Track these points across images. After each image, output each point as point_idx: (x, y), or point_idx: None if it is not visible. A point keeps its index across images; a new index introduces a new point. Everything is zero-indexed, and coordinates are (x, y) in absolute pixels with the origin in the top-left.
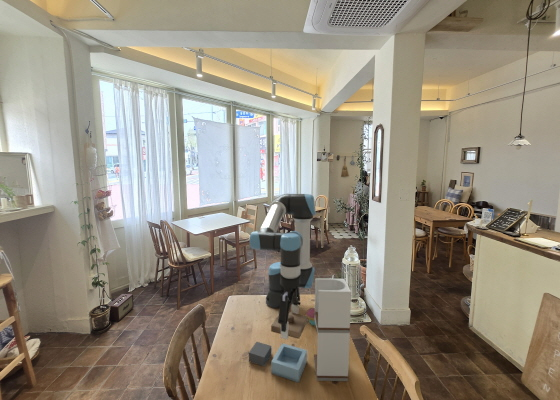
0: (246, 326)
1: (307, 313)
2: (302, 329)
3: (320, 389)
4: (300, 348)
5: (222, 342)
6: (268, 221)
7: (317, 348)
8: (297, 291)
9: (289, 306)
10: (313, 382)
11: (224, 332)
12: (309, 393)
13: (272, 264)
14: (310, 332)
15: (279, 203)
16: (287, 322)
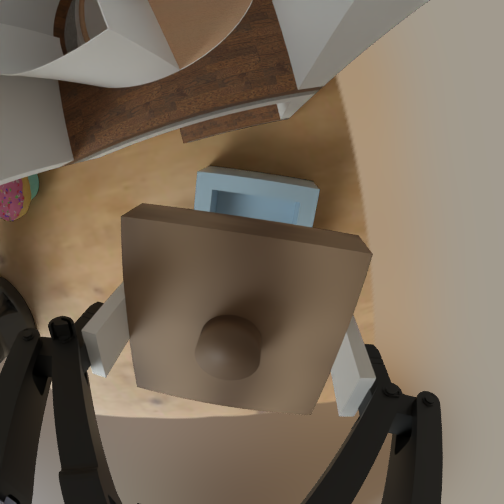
0: (133, 376)
1: (13, 216)
2: (278, 228)
3: (321, 106)
4: (195, 201)
5: (215, 409)
6: None
7: (289, 110)
8: (11, 437)
9: (340, 491)
10: (299, 130)
11: (180, 412)
12: (345, 141)
13: None
14: (69, 183)
15: None
16: (370, 380)
